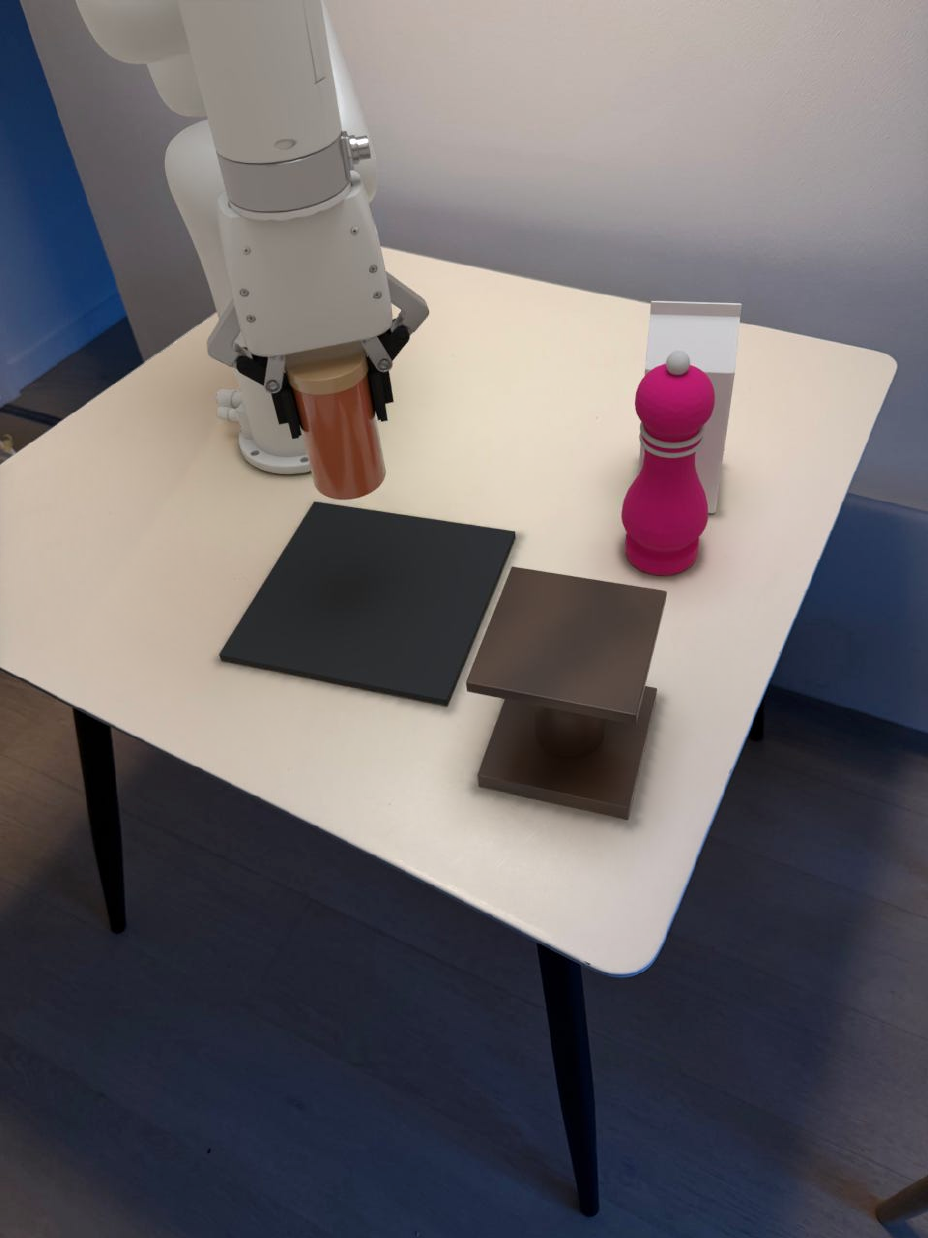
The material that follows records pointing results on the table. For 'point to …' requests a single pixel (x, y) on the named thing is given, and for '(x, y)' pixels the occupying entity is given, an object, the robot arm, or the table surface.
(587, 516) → the table surface
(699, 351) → the milk carton
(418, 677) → the mat
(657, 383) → the pepper mill
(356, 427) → the spice jar
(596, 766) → the stand
